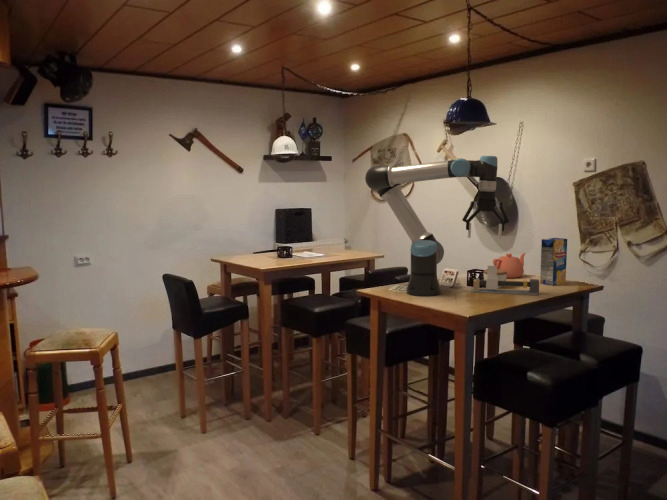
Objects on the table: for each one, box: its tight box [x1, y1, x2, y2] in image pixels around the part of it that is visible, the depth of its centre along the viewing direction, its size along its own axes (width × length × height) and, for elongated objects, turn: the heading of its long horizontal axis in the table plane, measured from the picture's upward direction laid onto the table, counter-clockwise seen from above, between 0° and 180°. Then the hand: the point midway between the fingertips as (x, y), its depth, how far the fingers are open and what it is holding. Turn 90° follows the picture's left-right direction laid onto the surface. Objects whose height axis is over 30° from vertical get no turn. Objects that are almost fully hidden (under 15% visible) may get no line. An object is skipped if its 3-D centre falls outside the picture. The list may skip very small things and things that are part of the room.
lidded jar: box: [483, 268, 507, 289], centre depth 253 cm, size 11×11×9 cm
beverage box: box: [539, 237, 568, 287], centre depth 259 cm, size 7×11×22 cm, turn 125°
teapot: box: [492, 252, 526, 279], centre depth 281 cm, size 22×15×12 cm
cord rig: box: [470, 278, 540, 296], centre depth 240 cm, size 29×7×6 cm, turn 76°
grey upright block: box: [485, 265, 499, 289], centre depth 240 cm, size 5×5×10 cm
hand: (484, 238), depth 240 cm, fingers open, 13 cm apart
